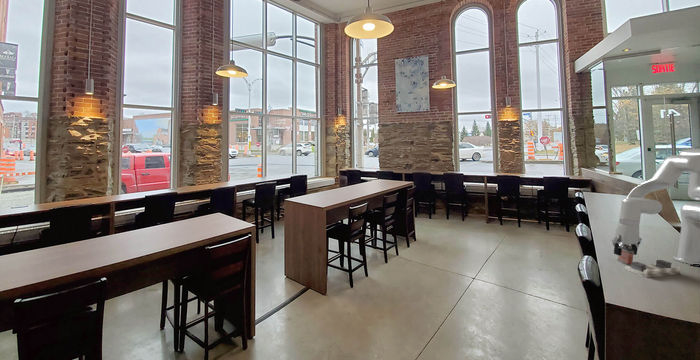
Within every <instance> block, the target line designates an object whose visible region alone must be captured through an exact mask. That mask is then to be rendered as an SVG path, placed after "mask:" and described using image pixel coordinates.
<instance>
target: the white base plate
mask: <svg viewBox="0 0 700 360" xmlns="http://www.w3.org/2000/svg"><path fill="white" fill-rule="evenodd" d="M624 270H625V271H627V272H628V271H629V272H630V271H631V273H633V272H634V274H636V273H637V274H636V275H638V274H639V275H638V276H641V277H643V278H644V277H645V278H652V277H653V278H654V277H667V276H676V275H681V272H682V271H681V270H682V268H681V267H678V266H677V267H672V262H670V261H666V260H663V259H657V260H656V261H655V263H652V264H645V263H642V262H639V261H633V262H632V264H631V266H627V265H625V266H624Z"/></svg>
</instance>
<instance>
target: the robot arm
mask: <svg viewBox="0 0 700 360" xmlns="http://www.w3.org/2000/svg"><path fill="white" fill-rule="evenodd" d="M684 173H689V180H688V181H689V182H688V188H687V195H688V197H689V199H691V200H693V201H700V148H690V149H689V148H688V149H684V150H681V151H679V153H678V154H673V155H669V156H667V157H666V158H665V159H664V160H663V161H662V163H661V164H660V165H659V167H658V169H657V170H656V171H655V173H653V176H652V177H651V178H649V179H648V180H646V181H643V182H642V183H640V184H639V185H637V186H635V187H634V188H633V189H632V190H631V191H630V192H629V194H628V195H627V197H626V198H623V199H621V204H620V211H619V218H618V219H619V221H618V223H617V225H616V229H615V233H614V237H613V238H612V239H611V241H612V244H613V247H614V249H613V254H614V255H616V256H621V253H622V248H621V247H623V245H630V247H632V249H631V250H632V251H634V253H633V256H637V253H638V248H639V245H641V242H642V241H643V238H642V237H640V224H641V223H640V222H641V215H642V214H647V215H656V214H659V213H660V212H662V210H663V205H662V203H661V202H659V201H658V200H656V199H651V198H646V197H645V196H646V195H648V194H650V193H653V192H657V191H662V190H667V189H670V188H672V187H674V186H675V184H676V183H677V182H678V180H679V178H680V177H681V176H682V174H684ZM679 212H680V217H681V218H680V219H681V224H680V225H681V226H680V234H679V242H678V248H677V254H675V255H673V256H672V259H673V260H675V261H677V262H680V263H684V264H689V265H693V264H700V202H686V203H684V204H683V205H682V206H681V207H680V211H679Z"/></svg>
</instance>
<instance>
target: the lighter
mask: <svg viewBox="0 0 700 360" xmlns="http://www.w3.org/2000/svg"><path fill="white" fill-rule="evenodd" d="M630 246H631V244H628V245H623V246H622V247H621V248H622V253H621V256H619V255H617V256H618V258H617V261H618V262H619V263H621V264H623V265H625V266H627V265H628V266H631V264H632V262H634V261H633V260H634V254H633V253H634V251H632V250H631V249H632V247H630Z"/></svg>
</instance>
